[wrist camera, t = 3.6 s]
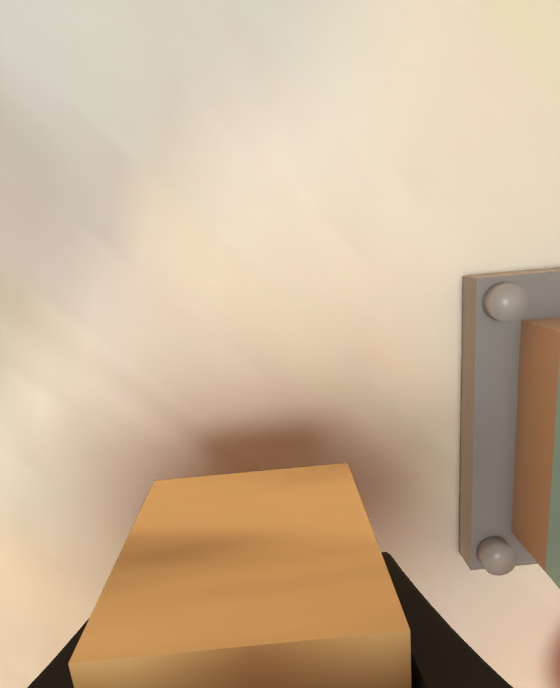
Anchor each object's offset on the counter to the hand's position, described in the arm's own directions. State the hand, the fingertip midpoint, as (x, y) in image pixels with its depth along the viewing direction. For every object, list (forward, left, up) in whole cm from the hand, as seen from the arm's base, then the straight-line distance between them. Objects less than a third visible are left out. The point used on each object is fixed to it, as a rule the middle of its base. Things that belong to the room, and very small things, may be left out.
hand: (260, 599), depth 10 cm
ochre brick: (0, 0, -2) cm, 2 cm away
